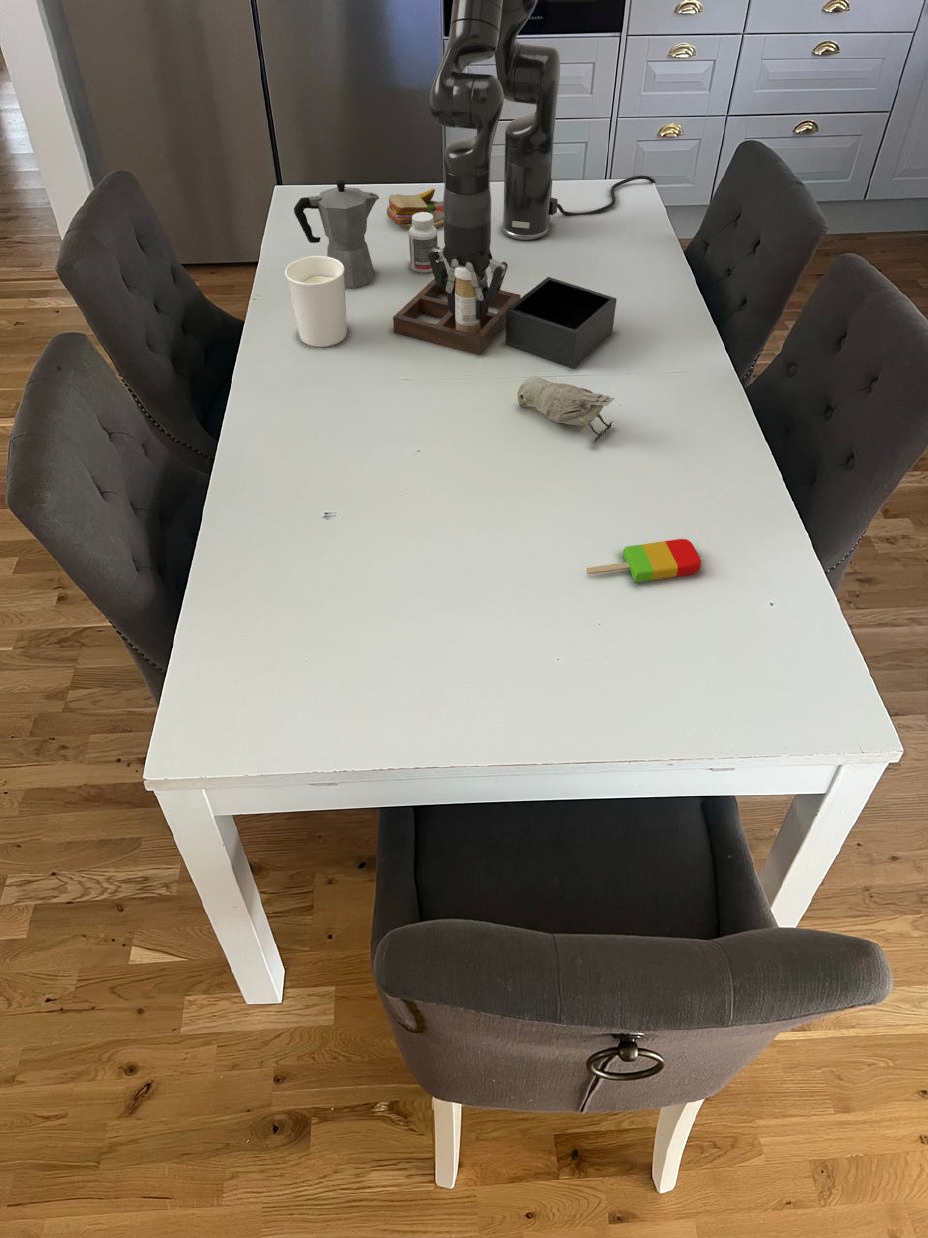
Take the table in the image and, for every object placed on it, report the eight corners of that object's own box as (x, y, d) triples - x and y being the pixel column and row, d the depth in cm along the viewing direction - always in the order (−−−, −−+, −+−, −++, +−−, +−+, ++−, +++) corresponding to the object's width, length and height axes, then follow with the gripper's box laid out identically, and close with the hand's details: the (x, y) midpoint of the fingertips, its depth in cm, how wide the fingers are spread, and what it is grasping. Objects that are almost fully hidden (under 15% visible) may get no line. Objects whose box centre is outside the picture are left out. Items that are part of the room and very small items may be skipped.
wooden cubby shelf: (438, 289, 172) (437, 274, 170) (520, 310, 167) (520, 294, 164) (393, 332, 162) (392, 316, 160) (479, 355, 157) (479, 339, 154)
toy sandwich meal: (456, 228, 189) (456, 205, 185) (391, 235, 187) (390, 211, 184) (445, 202, 197) (444, 180, 194) (382, 208, 195) (381, 186, 192)
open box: (546, 311, 166) (548, 276, 162) (612, 333, 161) (616, 298, 156) (505, 344, 159) (506, 309, 154) (573, 368, 154) (576, 333, 149)
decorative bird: (528, 397, 148) (530, 356, 143) (616, 432, 142) (622, 391, 136) (509, 414, 145) (511, 373, 140) (598, 450, 139) (604, 408, 133)
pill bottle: (444, 266, 178) (442, 216, 171) (423, 276, 175) (421, 225, 168) (425, 257, 181) (423, 207, 173) (404, 266, 178) (401, 216, 171)
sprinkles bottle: (482, 330, 162) (483, 257, 152) (478, 344, 159) (478, 270, 149) (457, 328, 163) (456, 255, 153) (452, 342, 159) (451, 268, 150)
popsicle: (702, 574, 121) (705, 563, 119) (592, 591, 119) (593, 580, 117) (687, 546, 124) (689, 535, 123) (580, 562, 122) (581, 551, 121)
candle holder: (284, 343, 160) (273, 277, 151) (311, 315, 166) (302, 251, 157) (335, 354, 157) (327, 288, 148) (360, 326, 163) (354, 261, 154)
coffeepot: (380, 261, 179) (373, 165, 166) (388, 284, 173) (381, 187, 160) (301, 270, 177) (287, 174, 164) (306, 294, 171) (292, 196, 158)
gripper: (518, 213, 145) (514, 313, 158) (438, 196, 149) (440, 295, 162) (498, 233, 141) (496, 334, 153) (416, 215, 145) (420, 315, 158)
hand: (467, 313), depth 158 cm, fingers closed on sprinkles bottle, 4 cm apart
